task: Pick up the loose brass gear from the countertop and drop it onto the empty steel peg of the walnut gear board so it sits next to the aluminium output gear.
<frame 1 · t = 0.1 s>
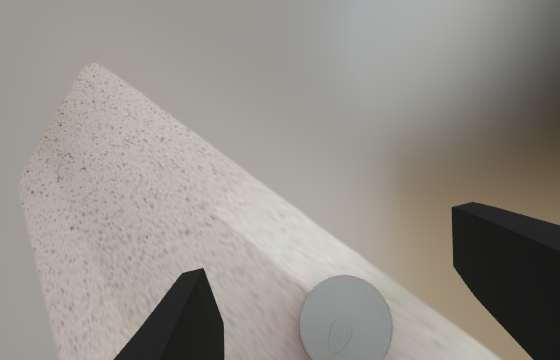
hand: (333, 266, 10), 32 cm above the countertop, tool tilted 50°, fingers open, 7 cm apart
canned food: (337, 330, 38), on the countertop
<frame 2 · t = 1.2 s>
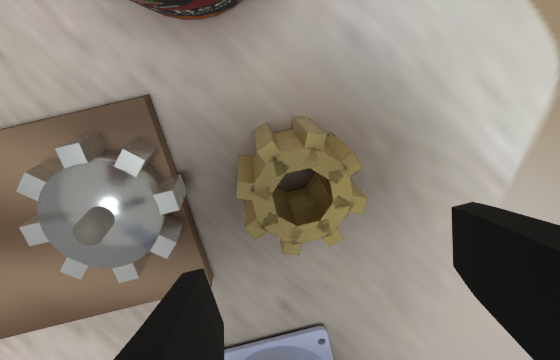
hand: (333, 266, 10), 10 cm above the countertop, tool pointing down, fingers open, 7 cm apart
brass gear: (291, 169, 19), on the countertop
output gear: (117, 199, 17), resting on gear board
gear board: (39, 229, 19), on the countertop
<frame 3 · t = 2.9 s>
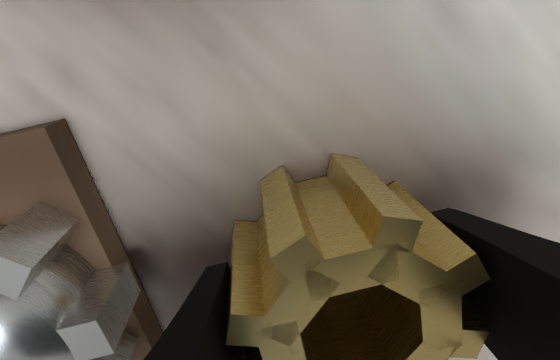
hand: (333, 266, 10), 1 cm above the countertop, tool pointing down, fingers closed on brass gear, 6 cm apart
brass gear: (322, 240, 11), on the countertop, touching gripper
output gear: (13, 305, 10), resting on gear board
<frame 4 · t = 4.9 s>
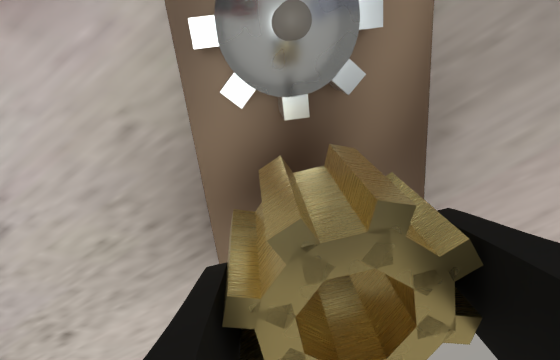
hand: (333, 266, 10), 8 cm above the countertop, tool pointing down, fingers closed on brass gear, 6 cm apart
brass gear: (320, 230, 11), point 7 cm above the countertop, touching gripper
output gear: (281, 26, 14), resting on gear board
gear board: (310, 134, 17), on the countertop
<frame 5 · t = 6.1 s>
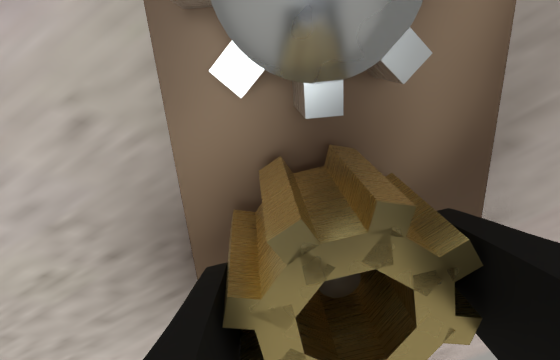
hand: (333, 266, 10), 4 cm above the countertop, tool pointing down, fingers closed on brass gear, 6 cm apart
brass gear: (320, 231, 11), point 2 cm above the countertop, touching gripper
gear board: (333, 140, 13), on the countertop
when the fingers open (4 cm above the countertop, at t = 6.9 s): brass gear drops 1 cm, resting on gear board.
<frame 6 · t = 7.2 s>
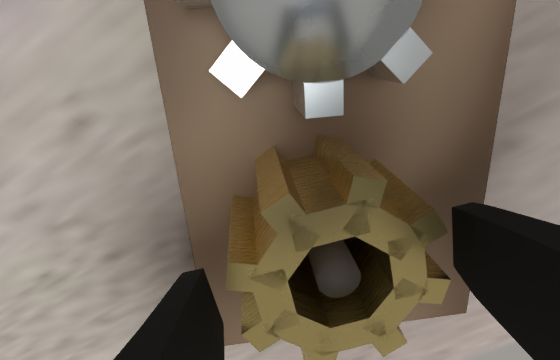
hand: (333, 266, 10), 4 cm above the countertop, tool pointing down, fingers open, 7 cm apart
brass gear: (312, 213, 12), point 1 cm above the countertop, touching gear board
gear board: (333, 140, 13), on the countertop
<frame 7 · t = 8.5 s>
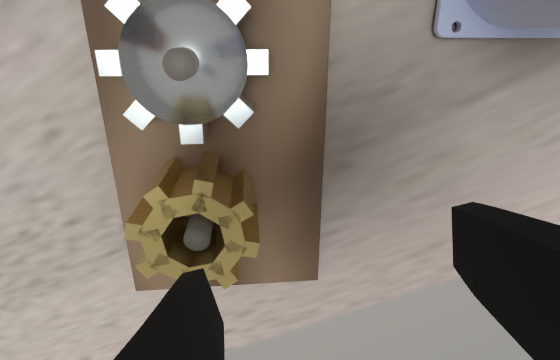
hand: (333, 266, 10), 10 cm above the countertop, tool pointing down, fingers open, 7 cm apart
brass gear: (203, 202, 19), point 1 cm above the countertop, touching gear board
output gear: (192, 60, 16), resting on gear board
gear board: (221, 155, 19), on the countertop
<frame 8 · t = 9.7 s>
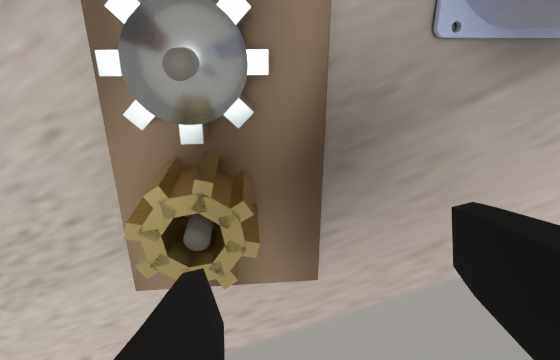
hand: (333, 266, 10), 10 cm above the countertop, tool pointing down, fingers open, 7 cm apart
brass gear: (203, 202, 19), point 1 cm above the countertop, touching gear board
output gear: (192, 60, 16), resting on gear board
gear board: (221, 155, 19), on the countertop
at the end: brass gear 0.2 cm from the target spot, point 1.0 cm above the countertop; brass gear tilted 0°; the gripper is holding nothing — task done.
